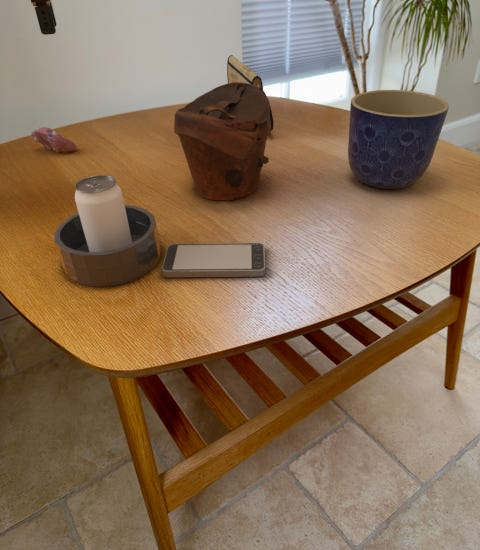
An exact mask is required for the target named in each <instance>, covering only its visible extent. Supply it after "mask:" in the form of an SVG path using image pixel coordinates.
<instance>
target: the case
mask: <svg viewBox="0 0 480 550" xmlns="http://www.w3.org/2000/svg"><path fill="white" fill-rule="evenodd" d="M263 91H264V90H263ZM263 91H261V90H260V89H259V88H257V87H255V86H253V85H251V84H248V83H242V82H236V83H229V84H228V83H224V84H222V85H219V86H216V87H214V88H213V89H211V90H209V91H207V92H205V93H203V94H202V95H199V96H197V97H196V98H195V99H194V100H192V101H190V102H188V104H186V105H185V106H184V107H181V108H178V109H176V111H175V112H174V119H173V121H174V123H173V124H174V125H173V130H174V131H173V132H174V134H175V135H177V136H178V138H179V141H180V144H181V147H182V150H183V153H184V157H185V159H186V163H187V166H188V169H189V172H190V175H191V179H192V181H193V184H194V188H195V190H196V192H197V193H198V194H199V196H201V197H203V198H204V199H207V200H209V201H210V200H211V201H233V200H234V201H235V200H238V199H241V198H244V197H247V196H249V195H251V194H252V193H254V192H255V191H256V190H257V188H258V186H259V183H260V178H261V174H262V173H261V172H262V168H263V167H264V165H267V164H268V163H269V157H268V156H266V155H265V151H266V145H267V139H268V137H269V136H270V134H271V132H272V130H271V121H270V107H271V104H270V100H269V98H268V96H267V94H266V93H265V94H266V95H265V94H264V92H265V91H264V92H263Z"/></svg>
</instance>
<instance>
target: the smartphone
mask: <svg viewBox="0 0 480 550" xmlns="http://www.w3.org/2000/svg"><path fill="white" fill-rule="evenodd" d="M161 271H162V277H164V278H227V277H228V278H235V277H236V278H241V277H242V278H243V277H244V278H245V277H246V278H247V277H249V278H251V277H253V278H255V277H257V278H258V277H263V276H265V275H266V255H265V244H264V243H263V242H220V243H219V242H206V243H205V242H201V243H200V242H199V243H196V242H194V243H192V242H191V243H171V244H168V245H167V248H166V252H165V256H164V260H163V262H162V266H161Z"/></svg>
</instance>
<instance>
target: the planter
mask: <svg viewBox="0 0 480 550" xmlns="http://www.w3.org/2000/svg"><path fill="white" fill-rule="evenodd" d="M349 107H350V108H349V125H348V127H349V128H348V143H347V144H348V145H347V157H348V159H347V160H348V164H349V168H350V170H351V172H352V174H353V175H354V176H355V178H356V179H358V181H360V182H361V183H364V184H365V185H367V186H369V187H372V188H373V187H374V188H377V189H385V190H397V189H402V188H405V187H409V186H411V185H412V184H414V183H416V182H417V181H418V180H420V179H421V178H422V177H423V176H424V175H425V173H426V171H427V170H428V168H429V166H430V164H431V162H432V159H433V157H434V154H435V150H436V148H437V144H438V142H439V139H440V135H441V132H442V129H443V127H444V123H445V121H446V117H447V115H448V112H449V108H450V105H449V103H448V101H446V100H445V99H443V98H442V97H440V96H437V95H434V94H430V93H427V92H420V91H414V90H405V89H378V90H369V91H364V92H360V93H358V94H356V95H354V96H353V97H352V98H351V100H350V106H349Z"/></svg>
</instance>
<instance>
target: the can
mask: <svg viewBox="0 0 480 550" xmlns="http://www.w3.org/2000/svg"><path fill="white" fill-rule="evenodd" d="M74 189H75V193H74V201H75V205H76V209H77V213H79V216H80V220H81V223H82V227H83V230H84V234H85V238H86V241H87V245H88V248H89V252H104V251H109V250H114V249H119V248H121V247H124V246H127V245H130V244H132V239H131V234H130V229H129V224H128V219H127V215H126V210H125V205H126V204H125V201H124V196H123V192H122V189H121V187H120V186H119V184H118V183H117V179H116V178H115V177H114V176H111V175H106V174H97V175H96V174H95V175H91V176H87V177H84V178H81V179H79V180H78V181H77V182H76V183H75V184H74ZM124 204H125V205H124Z"/></svg>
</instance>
